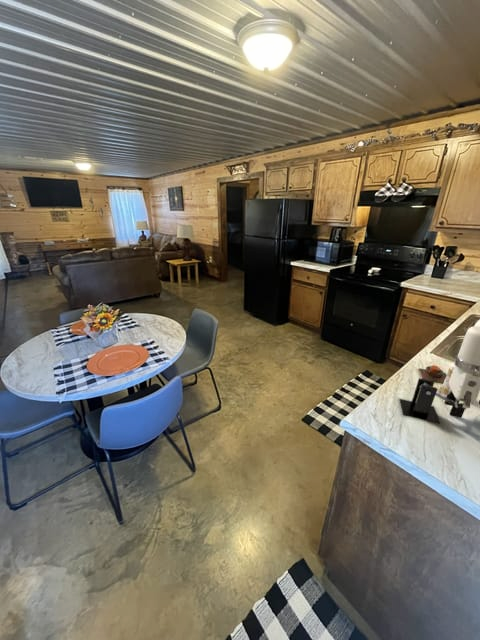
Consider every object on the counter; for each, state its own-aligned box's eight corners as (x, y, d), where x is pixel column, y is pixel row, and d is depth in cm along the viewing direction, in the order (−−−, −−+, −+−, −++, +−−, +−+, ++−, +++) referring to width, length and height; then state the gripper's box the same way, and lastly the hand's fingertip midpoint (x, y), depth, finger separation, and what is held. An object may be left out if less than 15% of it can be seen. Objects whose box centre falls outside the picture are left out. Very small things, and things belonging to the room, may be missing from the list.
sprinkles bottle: (446, 390, 106) (457, 361, 101) (457, 397, 102) (468, 368, 97) (436, 391, 106) (447, 363, 100) (447, 398, 101) (458, 369, 96)
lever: (452, 402, 91) (457, 398, 90) (456, 412, 87) (462, 407, 86) (418, 383, 93) (423, 379, 92) (421, 392, 89) (426, 387, 88)
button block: (443, 375, 116) (446, 368, 115) (449, 386, 109) (452, 379, 107) (417, 370, 119) (419, 364, 118) (421, 381, 112) (424, 374, 111)
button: (437, 369, 115) (438, 366, 114) (439, 373, 112) (441, 370, 111) (429, 368, 116) (430, 364, 115) (430, 371, 113) (432, 368, 112)
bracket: (432, 409, 96) (443, 380, 91) (439, 426, 89) (451, 395, 84) (398, 401, 100) (407, 373, 95) (402, 417, 92) (411, 387, 87)
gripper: (498, 383, 74) (475, 431, 81) (474, 354, 88) (457, 397, 95) (465, 377, 76) (446, 424, 83) (448, 350, 91) (433, 392, 98)
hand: (452, 410), depth 89 cm, fingers closed on lever, 5 cm apart
